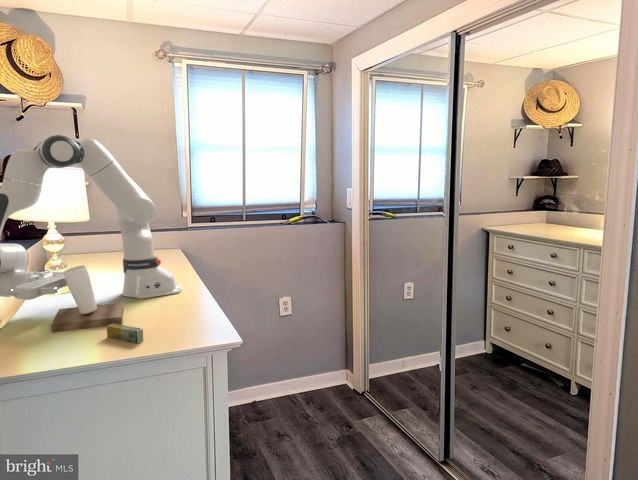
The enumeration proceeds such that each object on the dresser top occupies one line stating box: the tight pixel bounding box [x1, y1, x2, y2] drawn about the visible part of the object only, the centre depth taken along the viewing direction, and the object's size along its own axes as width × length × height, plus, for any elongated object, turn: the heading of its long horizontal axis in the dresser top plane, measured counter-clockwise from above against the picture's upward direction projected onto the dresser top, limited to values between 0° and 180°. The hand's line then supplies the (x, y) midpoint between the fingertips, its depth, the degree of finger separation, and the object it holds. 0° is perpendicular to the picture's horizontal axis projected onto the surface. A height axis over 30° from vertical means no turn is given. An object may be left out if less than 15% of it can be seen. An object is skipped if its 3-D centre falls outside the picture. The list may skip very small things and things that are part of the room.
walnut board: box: [50, 302, 125, 333], centre depth 154 cm, size 20×16×2 cm
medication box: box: [106, 324, 144, 345], centre depth 138 cm, size 12×3×4 cm, turn 67°
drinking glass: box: [63, 265, 98, 314], centre depth 151 cm, size 7×7×15 cm
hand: (66, 286), depth 153 cm, fingers open, 8 cm apart
